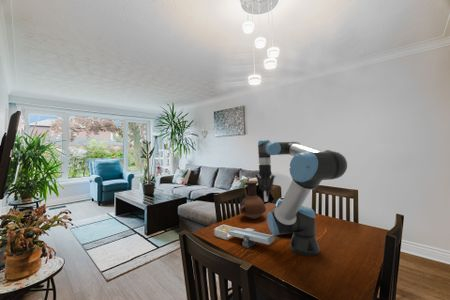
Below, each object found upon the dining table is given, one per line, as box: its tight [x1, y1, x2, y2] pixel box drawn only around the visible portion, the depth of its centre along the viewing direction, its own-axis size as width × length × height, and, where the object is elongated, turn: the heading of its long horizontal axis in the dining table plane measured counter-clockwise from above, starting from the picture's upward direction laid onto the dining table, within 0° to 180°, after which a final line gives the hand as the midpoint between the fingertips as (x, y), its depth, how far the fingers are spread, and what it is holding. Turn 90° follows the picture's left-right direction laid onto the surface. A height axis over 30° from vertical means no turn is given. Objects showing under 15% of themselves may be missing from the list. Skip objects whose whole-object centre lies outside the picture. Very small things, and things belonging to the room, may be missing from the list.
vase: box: [239, 180, 267, 220], centre depth 162 cm, size 25×20×30 cm
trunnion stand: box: [242, 230, 258, 249], centre depth 120 cm, size 4×11×6 cm, turn 139°
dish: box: [213, 224, 235, 241], centre depth 133 cm, size 11×10×4 cm
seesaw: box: [228, 227, 276, 245], centre depth 122 cm, size 28×13×3 cm, turn 50°
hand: (266, 201), depth 129 cm, fingers closed
